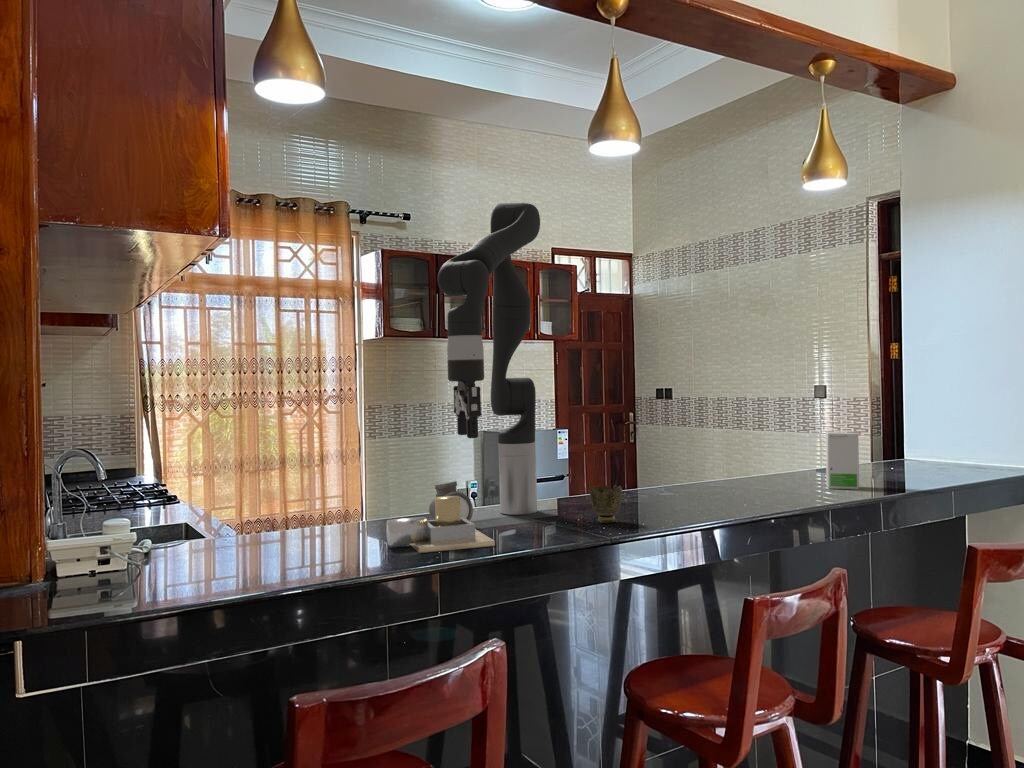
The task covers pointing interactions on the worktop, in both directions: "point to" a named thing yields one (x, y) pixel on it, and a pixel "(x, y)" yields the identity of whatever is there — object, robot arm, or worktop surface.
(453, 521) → the brass cylinder plug
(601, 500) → the cup
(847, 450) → the skincare box
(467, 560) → the worktop surface
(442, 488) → the pipe fitting
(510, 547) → the worktop surface
